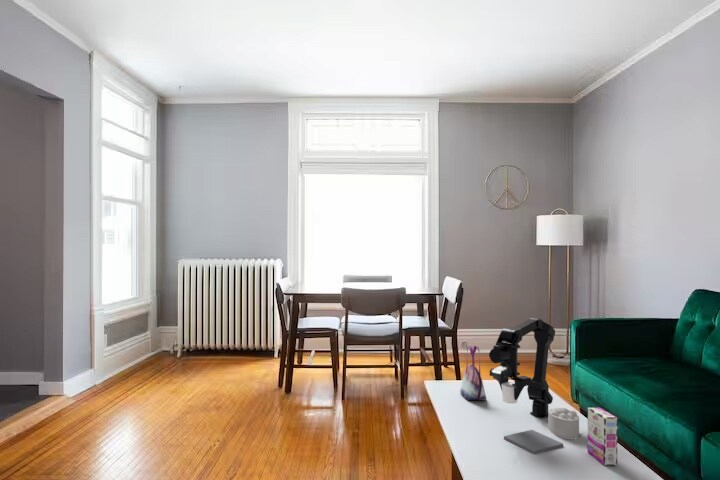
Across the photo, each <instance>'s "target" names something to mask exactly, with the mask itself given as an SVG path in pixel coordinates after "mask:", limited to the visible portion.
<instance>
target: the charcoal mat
mask: <svg viewBox="0 0 720 480" xmlns="http://www.w3.org/2000/svg"><path fill="white" fill-rule="evenodd" d="M503 440H505V441H506V442H509V443H511V444H514V445H515V446H517V447H519V448H521V449H523V450H525V451H527V452H528V453H529V452H530V453H531V454H533V455H535V454H539V453H544V452H547V451H550V450H554V449H558V448H559V449H560V448H561V447H564V443H563V442H561V441H558V440H557V439H554V438H552V437H549V436H548V435H546V434H545V435H544V433H540V432H538V431H536V430H534V429H530V430H525V431H521V432H516V433H513V434H507V435H504V436H503Z"/></svg>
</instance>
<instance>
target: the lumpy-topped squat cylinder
mask: <svg viewBox="0 0 720 480" xmlns="http://www.w3.org/2000/svg"><path fill="white" fill-rule="evenodd" d="M547 421H548V422H547V426H548V427H547V429H548V431H549V432H550V433H552V435H554V436H556V437H559V438H562V439H567V440H576V439H578V438H579V437H580V417H579V415H578V413H577V412H576V411H575V410H569V409H568V408H566V407H561V408H560V407H555V408H551V409H548V417H547ZM578 436H579V437H578ZM575 438H576V439H575Z"/></svg>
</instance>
